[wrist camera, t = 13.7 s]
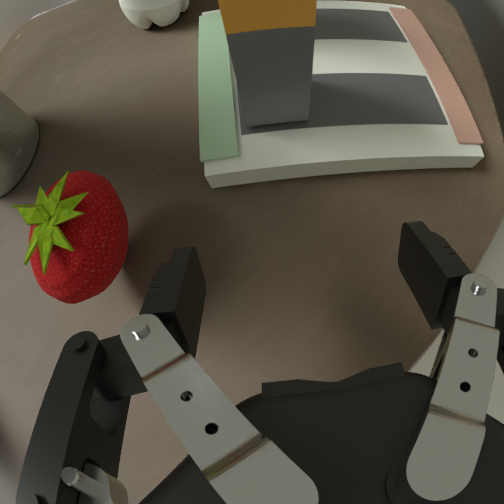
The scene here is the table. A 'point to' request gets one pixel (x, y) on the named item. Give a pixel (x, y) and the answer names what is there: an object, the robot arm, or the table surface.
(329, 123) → the grey base plate
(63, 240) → the strawberry
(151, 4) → the water bottle
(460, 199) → the table surface
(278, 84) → the orange-topped grey pillar
